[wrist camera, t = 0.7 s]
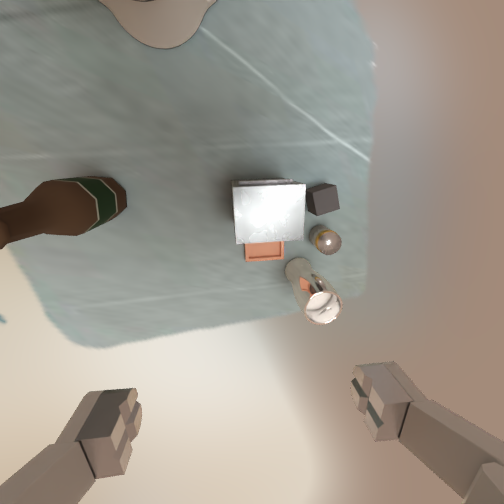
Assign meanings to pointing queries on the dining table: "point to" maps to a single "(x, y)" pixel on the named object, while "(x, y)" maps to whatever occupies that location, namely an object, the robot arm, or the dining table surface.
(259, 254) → the tray
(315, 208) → the rubber block
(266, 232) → the dark grey block
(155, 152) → the dining table surface
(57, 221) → the beer bottle
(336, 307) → the beer glass
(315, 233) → the cylinder
